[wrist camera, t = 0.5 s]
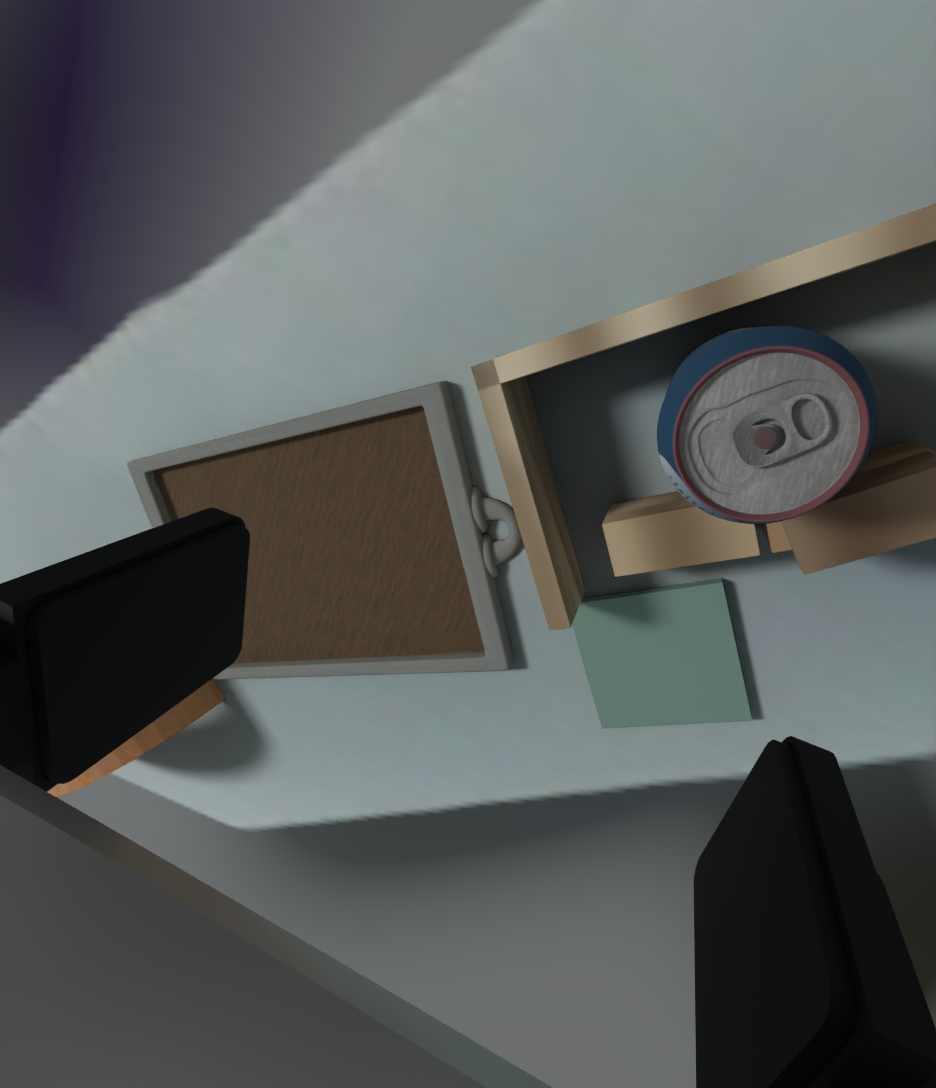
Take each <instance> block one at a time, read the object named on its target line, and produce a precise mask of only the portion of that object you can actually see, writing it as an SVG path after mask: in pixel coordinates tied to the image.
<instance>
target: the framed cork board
mask: <svg viewBox="0 0 936 1088" xmlns="http://www.w3.org/2000/svg"><path fill="white" fill-rule="evenodd" d="M127 466H128V469H129V471H130V474H131V477H132V479H133V482H134V484H135V487H136V489H137V492H138V494H139V497H140V499H141V502H142V504H143V507H144V510H145V512H146V515H147V517H148V520H149V522H150V525H151V527H152V528H155V527H158V526H160V525H163V524H166V523H169V522H171V521H174V520H177V519H180V518H182V517H185V516H188V515H191V514H193V513H196V512H199V511H202V510H204V509H207V508H212V507H213V508H217V509H220V510H222V511H225V512H227V513H230V514H232V515H235V516H237V517H240V518H241V519H242V520H243V521H244V523H245V527H246V529H247V530H248V531H249V533H250V547H249V560H248V574H247V587H246V600H245V614H244V627H243V641H242V649H241V652H240V654H239V656H238V658H237V659H236V660H235V662H234V663H233V664H232V665H230V666H229V667H228V668H226V669H225V670H224V671H222V672H221V673H219V674H218V675H217V676H215V677H214V678H213V679H244V678H278V677H312V676H345V675H379V674H413V673H446V672H480V671H505V670H509V669H510V668H511V667H512V665H513V663H514V658H513V653H512V649H511V645H510V640H509V636H508V632H507V628H506V624H505V619H504V615H503V611H502V607H501V603H500V598H499V594H498V590H497V586H496V582H495V578H496V577H497V576H498V573H499V567H498V564H500V563H502V562H504V561H506V560H507V559H509V558H510V557H511V556H512V555H513V554H514V553H515V552H516V550H517V549H518V547H519V545H520V543H521V539H522V536H521V533H520V529H519V526H518V523H517V519H516V516H515V513H514V511H513V510H512V509H511V508H510V507H509V506H507V505H506V504H504V503H503V502H500V501H498V500H495V499H491V498H486V497H482V494H481V492H480V490H479V489H478V488H476V487H473V485H472V481H471V477H470V472H469V468H468V464H467V460H466V456H465V451H464V447H463V443H462V439H461V435H460V430H459V426H458V422H457V418H456V414H455V409H454V405H453V401H452V397H451V393H450V389H449V385H448V382H447V381H442V382H437V383H433V384H429V385H425V386H421V387H417V388H413V389H409V390H405V391H401V392H397V393H394V394H390V395H386V396H382V397H378V398H374V399H370V400H366V401H362V402H359V403H355V404H351V405H347V406H343V407H339V408H335V409H331V410H327V411H324V412H320V413H316V414H312V415H308V416H304V417H300V418H296V419H292V420H289V421H285V422H281V423H277V424H273V425H269V426H265V427H261V428H257V429H253V430H250V431H246V432H242V433H238V434H234V435H230V436H226V437H222V438H218V439H215V440H211V441H207V442H203V443H199V444H195V445H191V446H187V447H183V448H180V449H176V450H172V451H168V452H164V453H160V454H156V455H152V456H148V457H145V458H141V459H137V460H133V461H130V462H128V463H127ZM490 520H503V521H505V522H506V523H507V525H508V527H509V535H508V537H507V538H505V539H503V540H499V541H494V542H493V541H492V539H491V537H490V536H489V535H487V534H484V532H486V531H487V529H488V521H490Z"/></svg>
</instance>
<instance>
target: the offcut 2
mask: <svg viewBox="0 0 936 1088" xmlns="http://www.w3.org/2000/svg"><path fill="white" fill-rule="evenodd" d="M924 451H929V452H931V453H933V454H935V455H936V451H935V450H933V449H931V448H928V447H926V446H924V445H922V444H920V443H918V442H916V441H910V442H905V443H900V444H896V445H891V446H886V447H882V448H877V449H873V450H869V452H868V454H867V457H866V458H865V460H864V462H863V464H862V465H861V467H860V469H859V470H858V472H857V473H856V474H855V475H857V474H860V473H863V472H866V471H869V470H872V469H875V468H878V467H880V466H883V465H886V464H889V463H892V462H895V461H898V460H901V459H904V458H907V457H910V456H913V455H915V454H918V453H921V452H924ZM762 526H763V530H764V533H765V535H766V538H767V540H768V543H769V546H770V548H771V551H772V553H776V552H782V551H788V550H792V548H791V545H790V543H789V540H788V538H787V535H786V533H785V530H784V528H783V525H782V523H781V522H775V523H768V524H762Z"/></svg>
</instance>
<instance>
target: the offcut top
mask: <svg viewBox="0 0 936 1088" xmlns="http://www.w3.org/2000/svg"><path fill="white" fill-rule="evenodd" d="M781 523H782V525H783V528H784V530H785V533H786V535H787V538H788V540H789V543H790V545H791V548H792V550H793V553H794V555H795V558H796V560H797V562H798V564H799V566H800V568H801V570H802V572H803V575H806V574H809V573H813V572H816V571H820V570H823V569H827V568H831V567H834V566H838V565H841V564H845V563H848V562H852V561H855V560H859V559H862V558H866V557H869V556H873V555H876V554H880V553H883V552H887V551H890V550H894V549H897V548H901V547H905V546H908V545H912V544H915V543H919V542H922V541H926V540H929V539H933V538H936V455H935V454H933V453H931V452H929V451H924V452H921V453H918V454H915V455H913V456H910V457H907V458H904V459H901V460H898V461H895V462H892V463H889V464H886V465H883V466H880V467H878V468H875V469H872V470H869V471H866V472H863V473H860V474H857V475H855V476H854V477H853V478H852V479H851V480H850V482H849V483H848V484H847V485H846V486H845V487H844V488H843V489H842V490H841V491H840V492H838V493H837V494H836V495H835V496H834V497H832V498H831V499H830V500H828V501H827V502H825V503H824V504H822V505H821V506H819V507H817V508H815V509H813V510H811V511H809V512H807V513H805V514H803V515H800V516H798V517H795V518H792V519H788V520H784V521H781Z"/></svg>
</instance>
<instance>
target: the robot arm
mask: <svg viewBox="0 0 936 1088" xmlns="http://www.w3.org/2000/svg"><path fill="white" fill-rule="evenodd" d="M249 547H250V533H249V531H248V530H247V529H246V527H245V523H244V521H243V520H242V519H241V518H240V517H237V516H235V515H232V514H230V513H227V512H225V511H222V510H220V509H217V508H213V507H212V508H207V509H204V510H202V511H199V512H196V513H193V514H191V515H188V516H185V517H182V518H180V519H177V520H174V521H171V522H169V523H166V524H163V525H160V526H158V527H155V528H152V529H149V530H147V531H144V532H141V533H139V534H136V535H133V536H130V537H128V538H125V539H122V540H119V541H117V542H114V543H111V544H108V545H106V546H103V547H100V548H97V549H95V550H92V551H89V552H86V553H84V554H81V555H78V556H76V557H73V558H70V559H67V560H65V561H62V562H59V563H56V564H54V565H51V566H48V567H45V568H43V569H40V570H37V571H34V572H32V573H29V574H26V575H23V576H21V577H18V578H15V579H13V580H10V581H7V582H4V583H2V584H0V1088H552V1087H551V1086H549V1085H547V1084H546V1083H544V1082H542V1081H541V1080H539V1079H537V1078H536V1077H534V1076H532V1075H531V1074H529V1073H527V1072H526V1071H524V1070H522V1069H520V1068H519V1067H517V1066H515V1065H513V1064H512V1063H510V1062H509V1061H507V1060H505V1059H503V1058H502V1057H500V1056H498V1055H497V1054H495V1053H493V1052H492V1051H490V1050H488V1049H486V1048H485V1047H483V1046H481V1045H480V1044H478V1043H476V1042H475V1041H473V1040H471V1039H470V1038H468V1037H466V1036H464V1035H463V1034H461V1033H459V1032H458V1031H456V1030H454V1029H452V1028H451V1027H449V1026H448V1025H446V1024H444V1023H443V1022H441V1021H439V1020H437V1019H436V1018H434V1017H432V1016H431V1015H429V1014H427V1013H426V1012H424V1011H422V1010H420V1009H419V1008H417V1007H415V1006H414V1005H412V1004H410V1003H409V1002H407V1001H405V1000H404V999H402V998H400V997H398V996H397V995H395V994H393V993H392V992H390V991H388V990H387V989H385V988H383V987H381V986H380V985H378V984H376V983H375V982H373V981H371V980H370V979H368V978H366V977H365V976H363V975H361V974H359V973H358V972H356V971H354V970H353V969H351V968H349V967H347V966H346V965H344V964H343V963H341V962H339V961H337V960H336V959H334V958H332V957H331V956H329V955H327V954H325V953H324V952H322V951H320V950H319V949H317V948H315V947H313V946H312V945H310V944H308V943H307V942H305V941H303V940H301V939H300V938H298V937H296V936H294V935H293V934H291V933H289V932H288V931H286V930H284V929H283V928H281V927H279V926H277V925H275V924H274V923H272V922H271V921H269V920H267V919H266V918H264V917H262V916H260V915H259V914H257V913H255V912H253V911H252V910H250V909H248V908H247V907H245V906H243V905H241V904H240V903H238V902H236V901H235V900H233V899H231V898H230V897H228V896H226V895H224V894H223V893H221V892H219V891H218V890H216V889H214V888H212V887H211V886H209V885H207V884H205V883H204V882H202V881H200V880H198V879H197V878H195V877H193V876H192V875H190V874H188V873H187V872H185V871H183V870H181V869H180V868H178V867H176V866H174V865H173V864H171V863H169V862H168V861H166V860H164V859H162V858H160V857H159V856H157V855H156V854H154V853H152V852H150V851H149V850H147V849H145V848H144V847H142V846H140V845H138V844H137V843H135V842H133V841H131V840H130V839H128V838H126V837H125V836H123V835H121V834H119V833H117V832H115V831H114V830H112V829H110V828H109V827H107V826H105V825H104V824H102V823H100V822H98V821H97V820H95V819H93V818H91V817H90V816H88V815H86V814H84V813H83V812H81V811H79V810H78V809H76V808H74V807H72V806H71V805H69V804H67V803H65V802H64V801H62V800H60V799H58V798H57V797H55V796H53V795H51V794H50V793H48V792H47V791H49V790H50V789H52V788H53V787H54V786H56V785H57V784H65V783H68V782H70V781H72V780H73V779H75V778H77V777H78V776H79V775H81V774H82V773H83V772H85V771H86V770H88V769H89V768H90V767H92V766H93V765H94V764H96V763H97V762H99V761H100V760H101V759H103V758H104V757H105V756H107V755H108V754H110V753H111V752H112V751H114V750H115V749H116V748H118V747H119V746H121V745H122V744H123V743H125V742H126V741H127V740H129V739H130V738H132V737H133V736H134V735H136V734H137V733H138V732H140V731H141V730H143V729H144V728H145V727H147V726H148V725H149V724H151V723H152V722H154V721H155V720H156V719H158V718H159V717H160V716H162V715H163V714H165V713H166V712H167V711H169V710H170V709H171V708H173V707H174V706H176V705H177V704H178V703H180V702H181V701H182V700H184V699H185V698H187V697H188V696H189V695H191V694H192V693H193V692H195V691H196V690H197V689H199V688H200V687H202V686H203V685H204V684H206V683H207V682H208V681H210V680H211V679H213V678H214V677H215V676H217V675H218V674H219V673H221V672H222V671H224V670H225V669H226V668H228V667H229V666H230V665H232V664H233V663H234V662H235V660H236V659H237V658H238V656H239V654H240V652H241V649H242V641H243V627H244V614H245V600H246V587H247V574H248V560H249ZM694 930H695V931H694V935H695V936H694V937H695V1011H696V1012H695V1016H696V1088H936V1028H935V1026H934V1023H933V1020H932V1017H931V1014H930V1012H929V1009H928V1006H927V1003H926V1000H925V997H924V995H923V992H922V989H921V986H920V983H919V981H918V978H917V975H916V972H915V970H914V967H913V964H912V961H911V959H910V956H909V953H908V950H907V948H906V944H905V942H904V939H903V936H902V933H901V931H900V928H899V925H898V922H897V919H896V916H895V914H894V911H893V908H892V906H891V903H890V900H889V897H888V894H887V892H886V889H885V886H884V884H883V882H882V880H881V878H880V876H879V875H878V874H877V873H876V870H875V867H874V864H873V862H872V859H871V856H870V853H869V850H868V847H867V845H866V841H865V839H864V836H863V833H862V830H861V827H860V824H859V822H858V819H857V816H856V813H855V810H854V808H853V805H852V802H851V799H850V796H849V793H848V790H847V788H846V785H845V782H844V779H843V776H842V773H841V770H840V768H839V765H838V762H837V759H836V757H835V755H834V754H833V753H832V752H830V751H827V750H825V749H822V748H820V747H817V746H815V745H812V744H810V743H807V742H805V741H802V740H800V739H797V738H795V737H792V736H790V737H787V738H786V739H785V740H783V742H782V743H781V742H778V741H776V740H771V741H770V742H769V743H768V744H767V745H766V747H765V748H764V750H763V752H762V753H761V755H760V757H759V758H758V760H757V762H756V763H755V765H754V767H753V768H752V770H751V772H750V774H749V775H748V777H747V779H746V780H745V782H744V784H743V785H742V787H741V789H740V790H739V792H738V794H737V795H736V797H735V799H734V800H733V802H732V804H731V805H730V807H729V809H728V811H727V812H726V814H725V816H724V817H723V819H722V821H721V822H720V824H719V826H718V827H717V829H716V831H715V832H714V834H713V836H712V838H711V839H710V841H709V842H708V844H707V846H706V848H705V849H704V851H703V852H702V854H701V856H700V858H699V860H698V863H697V866H696V870H695V875H694Z"/></svg>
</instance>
